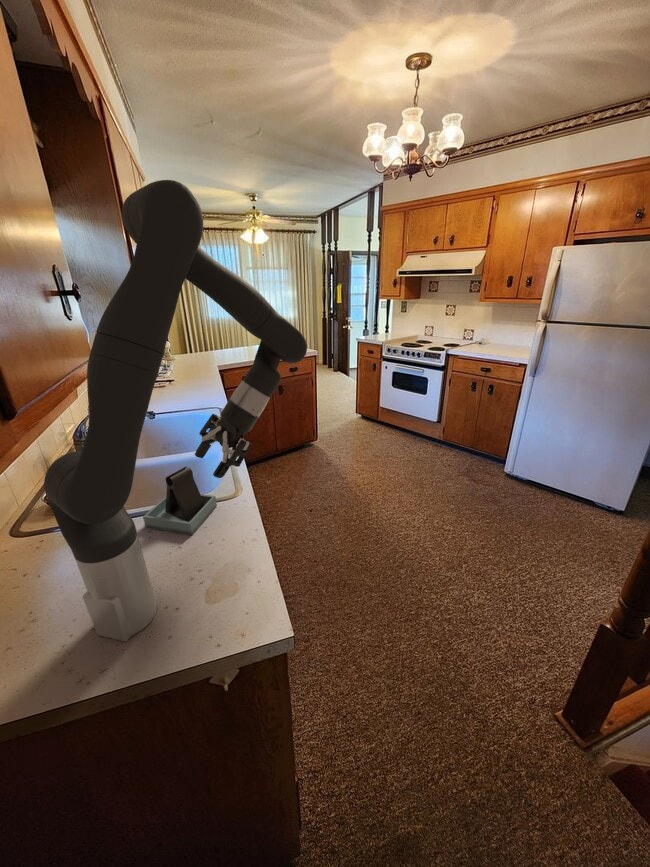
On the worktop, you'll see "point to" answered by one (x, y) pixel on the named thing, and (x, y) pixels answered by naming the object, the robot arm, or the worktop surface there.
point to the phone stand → (183, 495)
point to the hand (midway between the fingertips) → (207, 466)
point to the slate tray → (171, 523)
